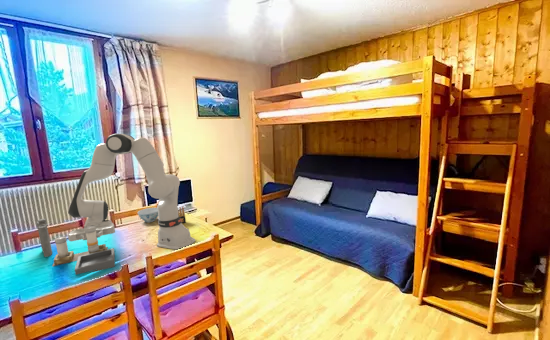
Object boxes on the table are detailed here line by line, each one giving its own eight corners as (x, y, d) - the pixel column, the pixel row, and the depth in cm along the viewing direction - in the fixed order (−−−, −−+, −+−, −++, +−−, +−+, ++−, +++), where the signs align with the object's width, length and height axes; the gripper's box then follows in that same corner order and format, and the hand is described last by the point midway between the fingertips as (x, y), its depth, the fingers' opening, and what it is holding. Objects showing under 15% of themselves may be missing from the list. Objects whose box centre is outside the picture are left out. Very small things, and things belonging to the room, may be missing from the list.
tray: (114, 254, 153) (113, 248, 152) (114, 266, 139) (113, 260, 139) (79, 262, 145) (78, 256, 145) (75, 276, 132) (74, 269, 131)
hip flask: (42, 250, 163) (35, 217, 159) (50, 247, 166) (44, 215, 162) (44, 259, 151) (37, 223, 148) (54, 256, 154) (47, 221, 151)
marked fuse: (100, 249, 142) (97, 226, 140) (90, 253, 138) (87, 229, 136) (96, 247, 144) (93, 225, 142) (86, 250, 140) (82, 228, 138)
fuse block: (108, 248, 161) (107, 242, 160) (107, 255, 152) (106, 249, 152) (56, 260, 149) (54, 253, 149) (52, 268, 141) (51, 261, 140)
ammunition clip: (170, 226, 191) (168, 209, 189) (169, 225, 193) (167, 208, 191) (186, 222, 197) (184, 206, 195) (185, 222, 199) (183, 205, 196)
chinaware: (163, 221, 203) (162, 210, 201) (140, 226, 194) (139, 215, 193) (158, 215, 215) (157, 206, 214) (137, 220, 207) (136, 210, 205)
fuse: (71, 259, 148) (67, 237, 145) (60, 262, 144) (56, 241, 142) (68, 256, 150) (64, 235, 148) (57, 260, 147) (53, 239, 144)
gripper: (68, 227, 145) (64, 236, 134) (114, 219, 155) (113, 226, 143) (70, 238, 147) (66, 248, 135) (115, 230, 156) (115, 238, 144)
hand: (91, 237), depth 139 cm, fingers closed on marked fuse, 4 cm apart
